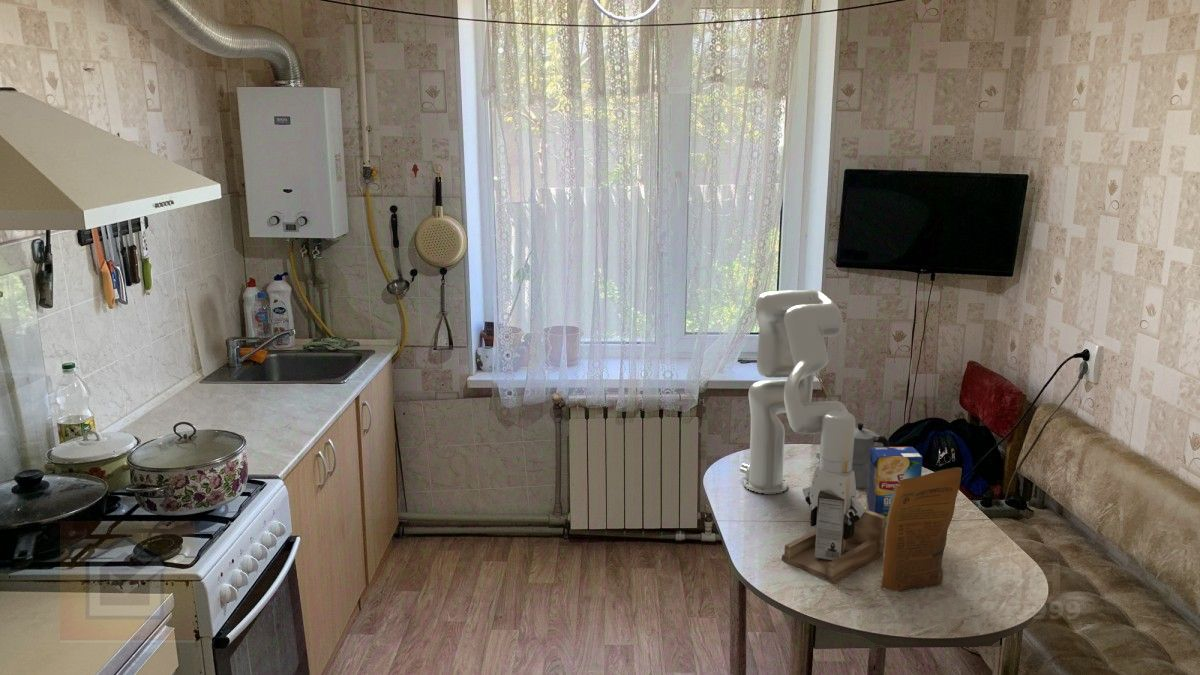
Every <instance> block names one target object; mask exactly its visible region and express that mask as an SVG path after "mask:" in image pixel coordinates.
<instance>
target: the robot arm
mask: <svg viewBox="0 0 1200 675" xmlns="http://www.w3.org/2000/svg"><path fill="white" fill-rule="evenodd" d="M755 314H756V319H757V323H758V331H759V332H758V342H757V344H758V345H757V355H756V356H757V358H756V369H757V373H758V374H759V375H760V376H762V377H763V378H768V379H762V380H759V381H755V382H754V383H752V384H751V385H750V387H749V390H748V394H747V395H748V404H749V411H750V412H749V413H750V439H749V440H750V442H749V464H748V463H742V465H741V467H740V468H739V471H740V473H742V474H745V477H744V479H743V484H744V485H743V487H744V486H745V487H746V488H745V487H744V488H745V489H747V490H748V489H749V490H748V491H750V490H752V491H755V492H754V493H756V492H758V493H757V494H761V493H764V494H763V495H776V493H777V494H781V493H783V491H784V492H785V491H786V490H788V488H787V487H788V485H789V484H788V483H789V482H788V481H787V480H786V479H785V478H783V477H784V457H785V435H786V434H785V433H786V431H785V430H786V429H785V426H784V424H783V422H782V421H781V419H779V417H778V414H785V413H786V417H787V420H788V424H789V426H790V428H791V429H792V431H793V432H794V433H796V434H797V435H811V434H814V435H815V434H820V447H819V449H820V450H819V452H816V455H815V458H816V459H818V463H817V464H816V466H815V469H814V472H813V476H812V479H811V484H810V486H806V487H804V488H802V489H801V490H802V493H803V496H804V498H805V502H806V503H807V505H808V510H810V518H809V520H810V527H816V524H817V505H818V494H819V492H820V491H823V492H826V493H828V494H831V495H834V496H836V497H839V498H842V499H845V503H844V515H845V521H846V523H845V524H844V533H843V538H844V539H845V540H847V539H849V538H851V537H852V536H853V535H854V527H855V522H856V521H858V520H860V519H861V518H862V516H863V515H864V514H865V513H866V507H864V506H863V505H862V504H861V503H860V502H859V501H858V500H857V488H856V481H855V474H854V471H852V465H853V451H854V436H855V428H856V418H855V416H854V415H853V414H852V413H851V412H849V411H848V408H846V405H845V404H844V403H842V402H841V401H838V400H827V401H812V397H813V388H814V387H813V386H814V382H815V381H814V380H815V373H817V372H819V371H821V370H822V369H824V368H825V367H826V366H827V365H828V363H829V361H830V358H829V355H828V354H829V353H828V351H827V347H826V342H825V338H824V337H826V338H827V337H836V336H838V335H840V333H841V332H842V330H843V326H844V320H843V315H842V313H841V310H840V308H839V307H838V305H837V304H836V303H835V302H834V301H833V300H832V299H830V298H829V297H828V296H827V295H826V294H825V293H823V292H822V291H820V290H816V289H800V290H790V289H789V290H788V289H787V290H772V291H766V292H763V293H761V294H760V295H758V297H757V299H756V302H755ZM752 491H751V492H752ZM854 509H856V510H857V514H856V515H855V513H854V511H853V510H854ZM848 513H849V515H850V517H851V518H850V517H849V515H848Z"/></svg>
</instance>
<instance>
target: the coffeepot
mask: <svg viewBox="0 0 1200 675" xmlns="http://www.w3.org/2000/svg"><path fill="white" fill-rule="evenodd" d="M863 427H864V424H863V423H860V422H859V423H857V427H855V436H854V451H853V465H852V471H854V474H855V481H856V489H865V488H866V489H867V487H868V473H869V459H870V447H874V445H875V443H882V444H883V445H882V447H891V443H890V441H889V440H888V439H887V438H886V436H883V435H880V434H877V433H876V432H875V431H872V430H870V429H867V428H863Z"/></svg>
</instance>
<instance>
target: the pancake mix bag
mask: <svg viewBox="0 0 1200 675" xmlns="http://www.w3.org/2000/svg"><path fill="white" fill-rule="evenodd" d="M962 471H963V469H962V467H958V466H957V467H950V468H945V469H941V470H937V471H934V472H930V473H927V474H923V475H921V476H918V477H914V478H908V479H903V480H899V482H900V485H895V488H894V492H893V495H892V500H891V504H890V507H889V512H888V516H887V521H886V531H885V539H884V550H883V559H882V560H883V561H882V578H881V583H880V584H881V585H880V588H881V589H885V590H887V591H888V590H889V591H891V592H906V591H911V590H916V589H923V588H928V587H935V586H940V585H941V584H942V583H943V580H944V572H943V558H944V553H945V549H946V546H947V538H948V529H949V527H950V524H951V521H952V519H953V516H954V513H955V506H956V500H957V496H958V493H959V491H960V487H961V486H960V485H961V479H962Z"/></svg>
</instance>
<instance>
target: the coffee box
mask: <svg viewBox="0 0 1200 675" xmlns="http://www.w3.org/2000/svg"><path fill="white" fill-rule="evenodd" d="M844 503H845V499H842V498H839V497H836V496H834V495H831V494H828V493H826V492H823V491H820V492H819V494H818V505H817V524H816V525H815V527H816V528H815V530H816V543H815V557H816V558H822V559H828V560H834V559H836V558H838V557H840V556H841V555H843V553H844V550H845V546H846V540H845V539H844V538H843V533H844V524H845V523H846V521H845V515H844Z"/></svg>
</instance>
